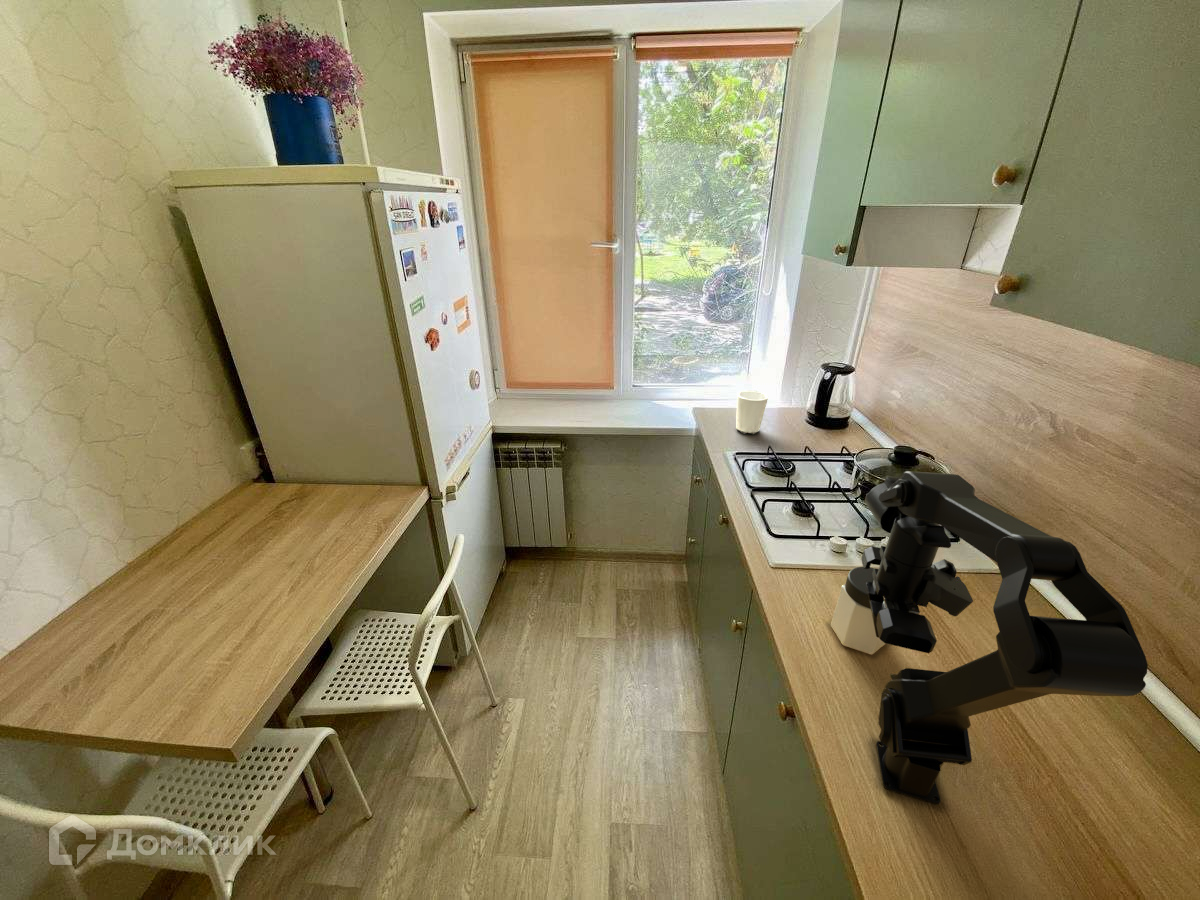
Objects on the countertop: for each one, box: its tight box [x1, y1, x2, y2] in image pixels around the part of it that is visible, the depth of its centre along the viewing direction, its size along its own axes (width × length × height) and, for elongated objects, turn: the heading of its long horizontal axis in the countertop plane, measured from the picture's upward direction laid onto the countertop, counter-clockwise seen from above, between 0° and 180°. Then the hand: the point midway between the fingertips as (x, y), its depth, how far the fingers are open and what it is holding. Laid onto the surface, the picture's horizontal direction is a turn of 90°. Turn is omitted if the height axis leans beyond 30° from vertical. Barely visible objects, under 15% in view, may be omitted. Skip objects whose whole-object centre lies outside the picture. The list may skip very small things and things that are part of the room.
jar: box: [830, 566, 887, 656], centre depth 84 cm, size 9×8×12 cm
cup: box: [735, 390, 769, 435], centre depth 164 cm, size 10×10×13 cm
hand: (879, 636), depth 75 cm, fingers closed
